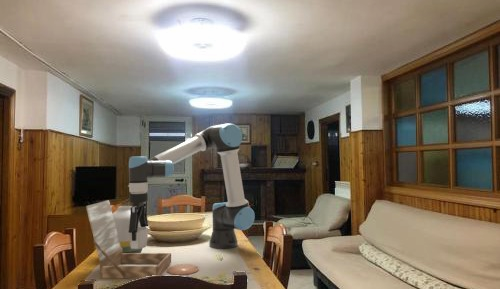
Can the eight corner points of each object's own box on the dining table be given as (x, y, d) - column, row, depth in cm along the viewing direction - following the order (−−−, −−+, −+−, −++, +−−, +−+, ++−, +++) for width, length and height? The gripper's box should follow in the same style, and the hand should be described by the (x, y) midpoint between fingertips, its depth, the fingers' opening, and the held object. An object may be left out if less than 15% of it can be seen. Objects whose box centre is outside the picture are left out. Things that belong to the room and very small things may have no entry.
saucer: (200, 266, 165) (200, 264, 165) (195, 274, 152) (195, 272, 152) (171, 266, 165) (171, 264, 165) (163, 274, 152) (163, 272, 152)
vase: (121, 263, 170) (122, 209, 171) (98, 258, 179) (98, 207, 180) (150, 255, 185) (150, 205, 186) (127, 251, 194) (127, 203, 195)
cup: (132, 244, 165) (132, 226, 165) (150, 243, 166) (150, 225, 166) (126, 250, 154) (126, 230, 154) (146, 249, 155) (146, 230, 155)
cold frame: (171, 263, 170) (171, 199, 171) (157, 279, 147) (157, 205, 148) (107, 263, 170) (107, 200, 172) (83, 279, 147) (84, 206, 149)
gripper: (138, 190, 172) (138, 239, 172) (119, 195, 149) (120, 252, 148) (154, 190, 172) (155, 238, 171) (138, 195, 149) (139, 251, 148)
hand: (139, 245), depth 160 cm, fingers closed on cup, 11 cm apart
